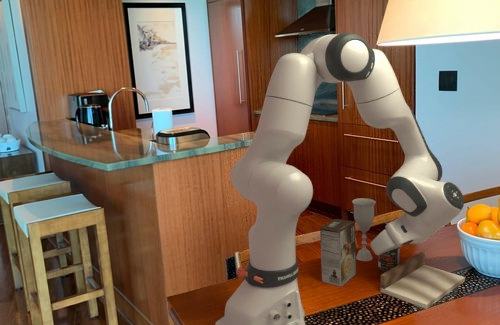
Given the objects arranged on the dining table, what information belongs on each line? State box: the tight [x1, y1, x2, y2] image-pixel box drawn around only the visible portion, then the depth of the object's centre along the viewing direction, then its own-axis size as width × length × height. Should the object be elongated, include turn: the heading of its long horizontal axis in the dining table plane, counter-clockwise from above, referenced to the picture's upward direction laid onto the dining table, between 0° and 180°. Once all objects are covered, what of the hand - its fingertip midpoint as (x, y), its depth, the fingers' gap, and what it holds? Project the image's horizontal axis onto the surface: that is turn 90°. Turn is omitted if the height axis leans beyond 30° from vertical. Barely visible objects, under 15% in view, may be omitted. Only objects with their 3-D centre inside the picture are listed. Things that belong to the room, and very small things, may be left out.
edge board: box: [380, 251, 466, 310], centre depth 129 cm, size 20×13×5 cm, turn 131°
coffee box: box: [319, 218, 357, 287], centre depth 135 cm, size 9×6×16 cm
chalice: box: [351, 197, 377, 262], centre depth 147 cm, size 7×7×18 cm
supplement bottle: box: [377, 247, 401, 273], centre depth 139 cm, size 6×6×11 cm
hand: (387, 249), depth 140 cm, fingers closed on supplement bottle, 6 cm apart
